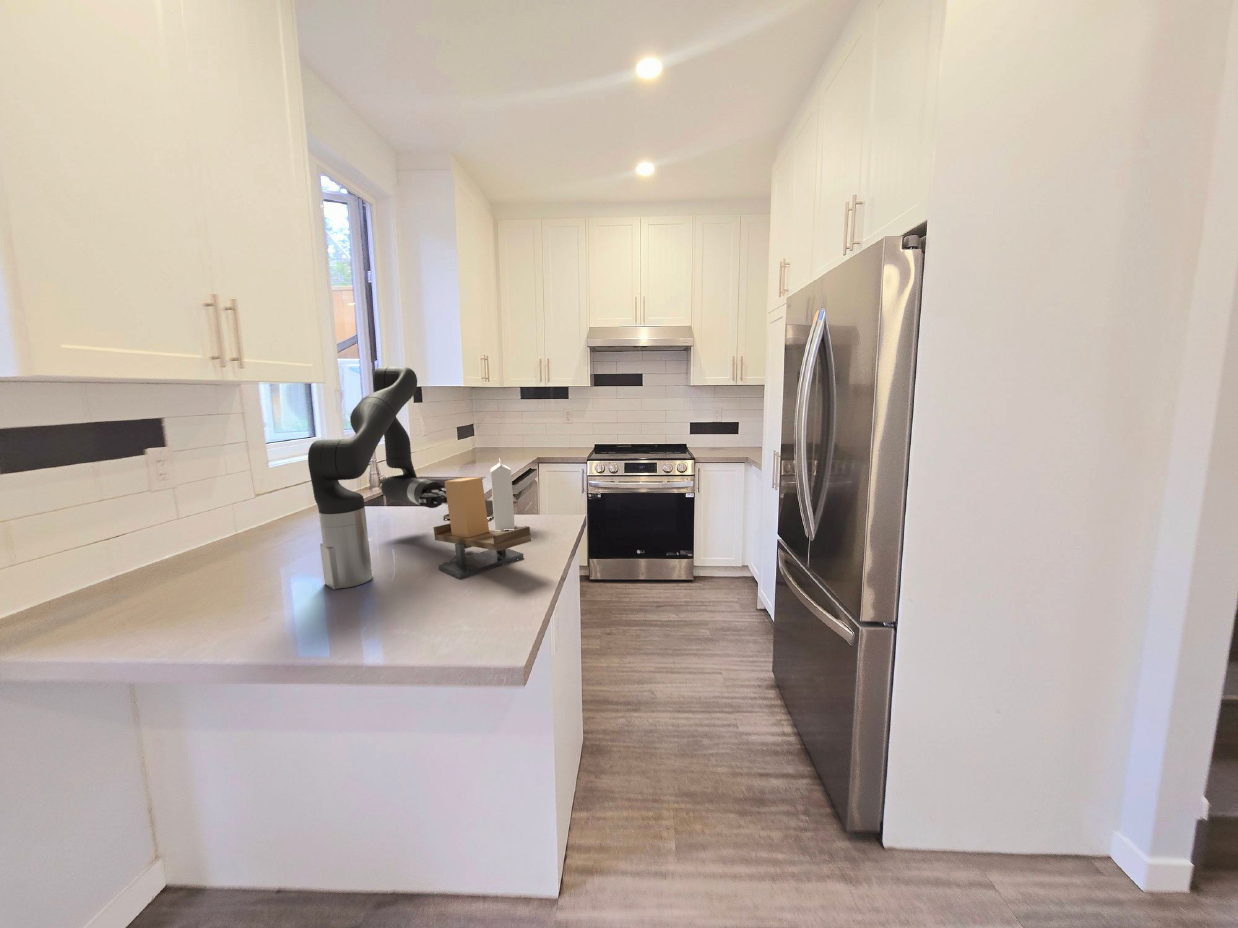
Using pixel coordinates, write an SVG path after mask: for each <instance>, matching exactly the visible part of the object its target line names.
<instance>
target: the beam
mask: <svg viewBox="0 0 1238 928" xmlns="http://www.w3.org/2000/svg"><path fill="white" fill-rule="evenodd" d="M432 528H433V534H434V540H435V541H438V542H443V543H448V544H449V543H451V544H454V545H455V544H457V543H461V544H464V545H465V550H466V549H469V548H480V549H484V550H496V551H501V550H504V549H507V548H508V549H511V548H514V547H517V546H520V545H524V544H526V543H527V544H528V543H530V542H532V536H531V529H530V528H531V527H530V526H529V525H528V526H527V525H524V526H521V527H518V528H515V529H514V530H510V531H495V529H494V530H493V529H489V532H486V533H483V534H479V535H475V536H472V537H462V536H455V535H452V532H451V525H450V523H445V524H442V525H438V526H434V527H432Z"/></svg>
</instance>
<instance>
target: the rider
mask: <svg viewBox="0 0 1238 928" xmlns="http://www.w3.org/2000/svg"><path fill="white" fill-rule="evenodd" d="M444 487H445V489H446V496H447V503H448V504H447V509H448V514H449V518H450V520H449V522H450V525H451V532H452V535H455V536H462V537H472V536H475V535H479V534H483V533H486V532H489V530H490V527H489V520H488V519H487V511H486V504H485V500H486V497H485V491H484V490H485V489H484V482H483V477H462V478H456V479H450V480H444Z"/></svg>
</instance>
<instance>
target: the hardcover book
mask: <svg viewBox="0 0 1238 928" xmlns="http://www.w3.org/2000/svg"><path fill="white" fill-rule="evenodd" d="M517 503H518V501H515V500H513V508H516V507H517V506H518V504H517ZM485 504H486V511H487V517H494V514H493V500H492V499H485ZM444 519H450V518H449V513H446V514H444V515H443V520H444Z"/></svg>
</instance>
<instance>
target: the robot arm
mask: <svg viewBox="0 0 1238 928" xmlns="http://www.w3.org/2000/svg"><path fill="white" fill-rule="evenodd" d="M372 380H373V383H372V385H373V389H374V392H371V393H370V394H368V395H366V396H365V397H363V398H362V399H361V400H360V401H359V402H358V404H357V405H356V406H355V407H354V408H353V410H352V411H351V413H350V419H349V420H350V425H351V428H352V430H353V432H354V433H355V435H354V436H352V437H350V438H337V439H335V438H333V439H319V440H318V439H317V440H315V441H313V442H312V444H311V445H310V446H309V448H308V453H307V465H308V469H309V475H310V481H311V486H312V491H313V492H312V493H313V497H314V501H315V503H316V505H317V508H318V509H317V510H318V516H319V523H320V532H321V541H322V543H321V542H320V545H319V547H320V554H321V555H320V556H321V563H322V570H323V578H324V579H323V580H324V584H325V585H326V586H327V587H329V588H331V589H332V590H337V589H345V588H352V587H355V586H360V585H362V584H365V583H368V582H369V581H370V580H371V579H373V569H372V561H371V559H372V558H371V552H370V541H369V533H368V525H367V524H368V523H367V518H366V517H367V514H366V505H365V499H364V495H362V494H361V493H359V492H356V491H353V490H350V489H347V488H346V487H345V486H344V485H341V483H340V481H347V480H351V481H352V480H355V479H358V478H360V477H361V476H363V475H364V474H365V472H366V470H368V467H369V465H370V462H371V460H372V458H373V456H374V452H375V451H376V449H377V447H378V445H379V444H380V441H381V440H382V439H383V438H384V449H385V461H386V462H385V463H386V465H387V466H388V468H391V469H400V470H401V471H402V474H399V475H397V474H396V475H390V476H387V477H385V478H384V479H383V480H382V483H381V485H380V488H381V493H382V495H383V496H384V497H385V498H386V499H388V500H390V501H400V502H401V501H403V502H404V501H406V502H407V501H408V502H410V503H414V504H416V505H419V506H421V507H426V508H429V509H435V508H438V507H441V506H443V505H447V506H448V503H447V496H446V489H445V485H443V483H441V482H440V481H436V480H431V479H426V478H418V475H417V473H416V471H415V467H414V465H413V461H412V452H411V451H412V449H411V448H412V447H411V441H410V436H409V434H408V432H407V431H406V429H405V428H404V426H403V424H401V422H400V420H399V418H397V415H398V414H399V412H400V411H401V410H402V408H403V407H404V406H405V405H406V404H407V403H408V402H409V401H410V400H411V399H412V398H413V396H415V395H414V394H415V393H416V390H417V388H418V376H417V374H416V373H415V371H414V370H413V369H412V368H409V367H406V366H378V367H377V368H376V369H375V370H374V372H373V379H372Z"/></svg>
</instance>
